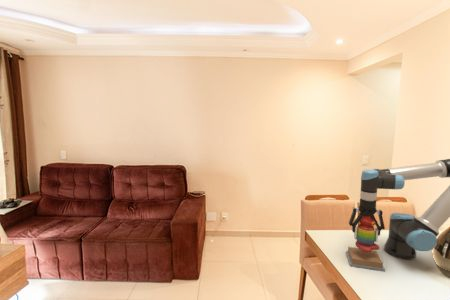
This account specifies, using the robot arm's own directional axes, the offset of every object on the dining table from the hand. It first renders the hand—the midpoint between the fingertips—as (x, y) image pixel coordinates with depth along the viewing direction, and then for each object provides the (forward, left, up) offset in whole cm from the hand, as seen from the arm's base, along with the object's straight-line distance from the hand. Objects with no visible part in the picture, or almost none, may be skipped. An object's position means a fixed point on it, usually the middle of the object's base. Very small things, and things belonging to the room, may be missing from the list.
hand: (365, 239), depth 132 cm
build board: (0, 0, -13) cm, 13 cm away
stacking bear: (0, 0, -4) cm, 4 cm away
